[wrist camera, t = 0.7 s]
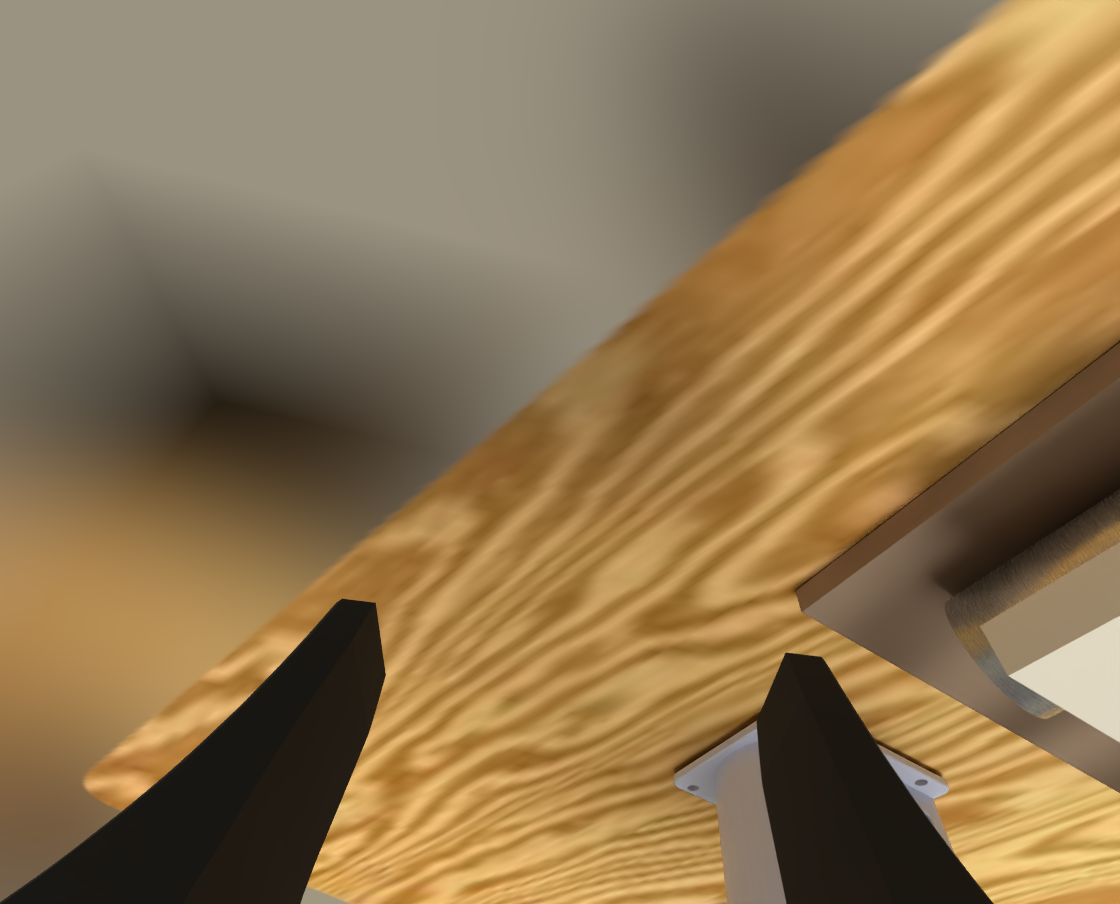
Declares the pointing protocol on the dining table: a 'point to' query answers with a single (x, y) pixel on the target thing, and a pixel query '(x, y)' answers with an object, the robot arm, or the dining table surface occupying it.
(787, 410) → the dining table surface
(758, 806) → the robot arm
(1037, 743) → the board
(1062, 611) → the slab
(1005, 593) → the roller
